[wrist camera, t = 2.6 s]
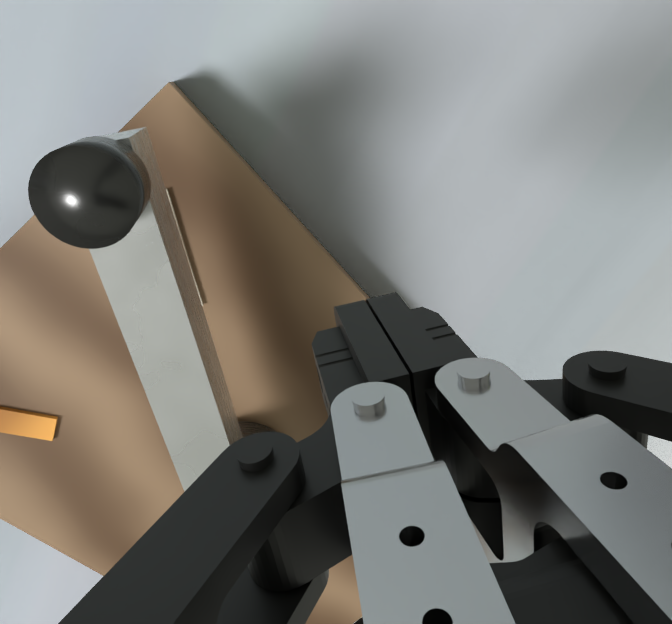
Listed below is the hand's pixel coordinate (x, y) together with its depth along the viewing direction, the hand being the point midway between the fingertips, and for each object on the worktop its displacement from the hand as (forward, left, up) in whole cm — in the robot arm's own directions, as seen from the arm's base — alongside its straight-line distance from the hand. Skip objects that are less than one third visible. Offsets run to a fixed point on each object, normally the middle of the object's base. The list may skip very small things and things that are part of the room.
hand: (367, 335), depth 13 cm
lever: (+7, +1, -10) cm, 12 cm away
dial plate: (+10, +7, -12) cm, 17 cm away
